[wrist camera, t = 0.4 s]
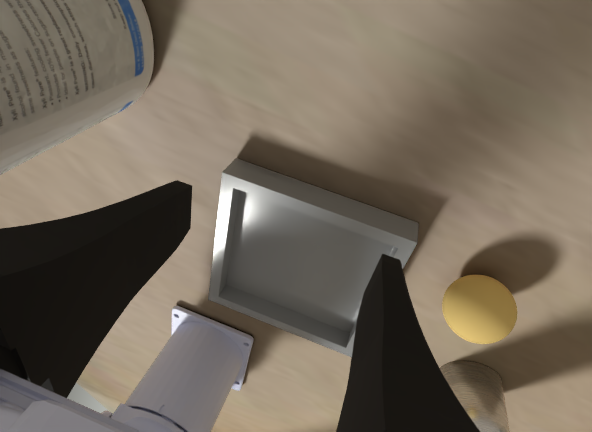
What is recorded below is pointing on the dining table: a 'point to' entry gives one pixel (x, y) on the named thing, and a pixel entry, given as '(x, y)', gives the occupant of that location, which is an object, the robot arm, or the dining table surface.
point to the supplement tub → (67, 69)
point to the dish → (299, 253)
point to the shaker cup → (478, 394)
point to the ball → (479, 309)
